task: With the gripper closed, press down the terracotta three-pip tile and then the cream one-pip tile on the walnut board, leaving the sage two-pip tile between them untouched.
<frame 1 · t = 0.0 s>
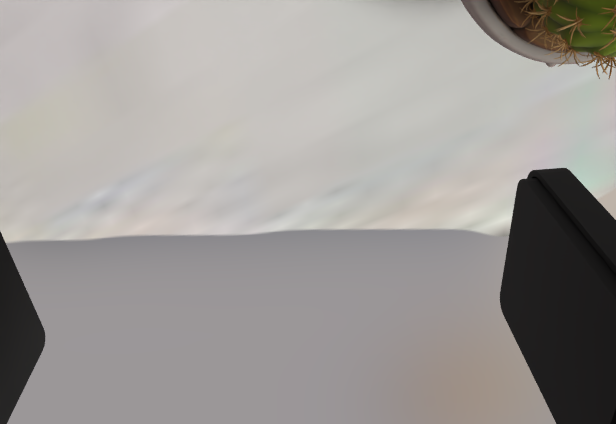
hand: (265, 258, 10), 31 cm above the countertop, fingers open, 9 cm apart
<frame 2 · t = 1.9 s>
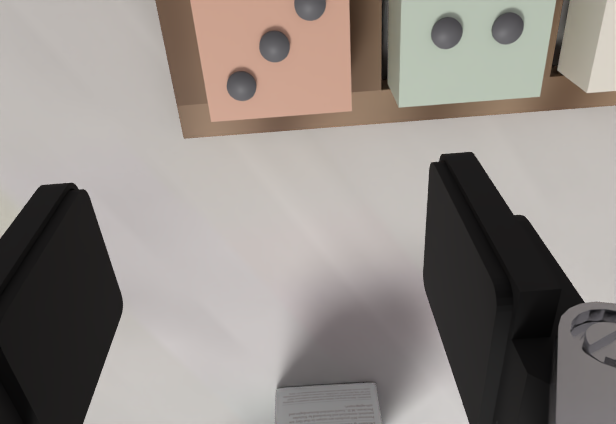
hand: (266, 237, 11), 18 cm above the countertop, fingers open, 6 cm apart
board: (447, 5, 26), on the countertop
tile three: (274, 36, 23), point 3 cm above the countertop, slide at 0.0 cm
tile two: (466, 21, 23), point 3 cm above the countertop, slide at 0.0 cm
supplement box: (326, 413, 41), on the countertop
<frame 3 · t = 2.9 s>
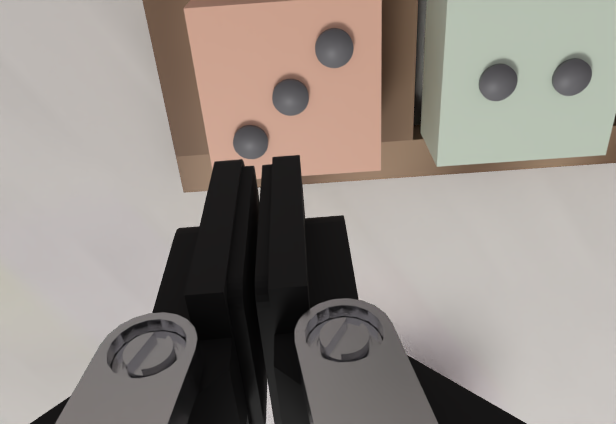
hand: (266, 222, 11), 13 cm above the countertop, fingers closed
board: (491, 42, 22), on the countertop
tile three: (290, 82, 19), point 3 cm above the countertop, slide at 0.0 cm
tile two: (518, 66, 19), point 3 cm above the countertop, slide at 0.0 cm
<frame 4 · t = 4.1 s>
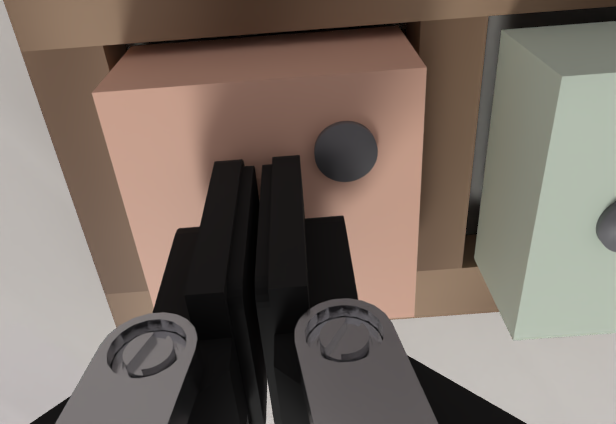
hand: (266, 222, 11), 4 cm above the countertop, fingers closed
board: (583, 123, 14), on the countertop
tile three: (276, 186, 13), point 2 cm above the countertop, slide at 1.0 cm, touching gripper
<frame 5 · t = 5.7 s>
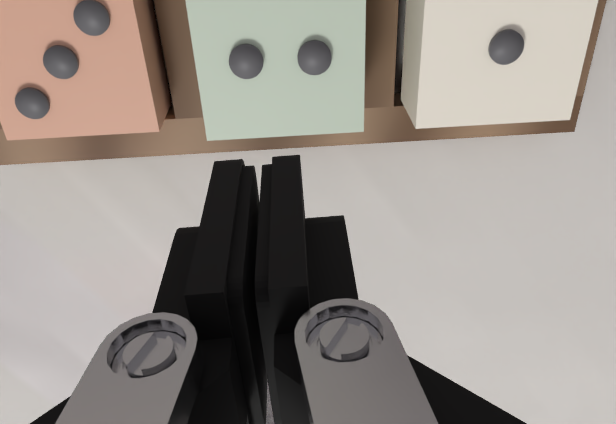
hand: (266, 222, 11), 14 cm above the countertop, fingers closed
tile one: (492, 35, 21), point 3 cm above the countertop, slide at 0.0 cm
board: (279, 25, 23), on the countertop
tile three: (73, 50, 21), point 2 cm above the countertop, slide at 1.1 cm
tile two: (280, 47, 21), point 3 cm above the countertop, slide at 0.0 cm
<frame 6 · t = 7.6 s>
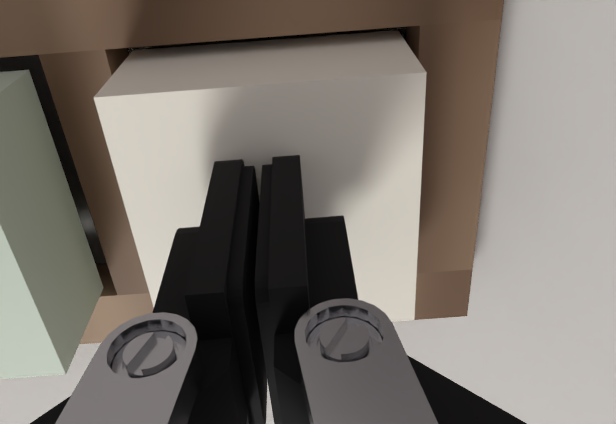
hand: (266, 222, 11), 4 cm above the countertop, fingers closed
tile one: (276, 190, 13), point 2 cm above the countertop, slide at 0.9 cm, touching gripper
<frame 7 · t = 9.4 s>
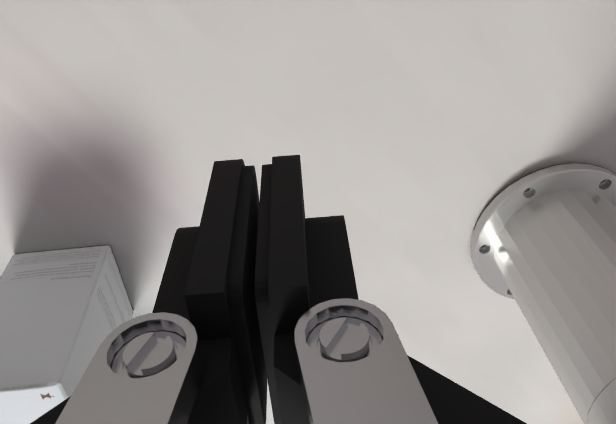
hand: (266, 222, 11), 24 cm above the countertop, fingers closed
supplement box: (77, 283, 43), on the countertop
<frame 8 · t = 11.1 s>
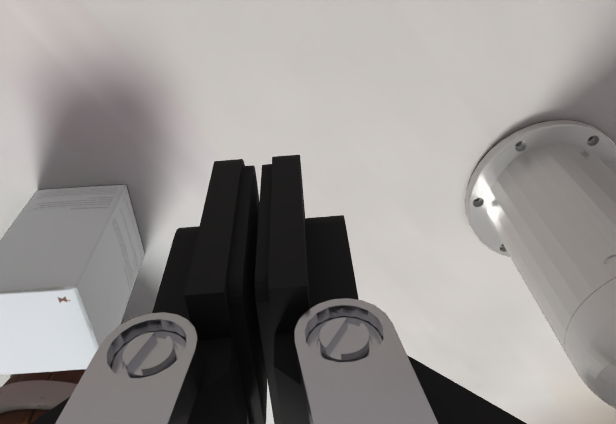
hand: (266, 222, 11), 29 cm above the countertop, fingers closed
flowerpot: (88, 361, 54), on the countertop
supplement box: (93, 222, 46), on the countertop
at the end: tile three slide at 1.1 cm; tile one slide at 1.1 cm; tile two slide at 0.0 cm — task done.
